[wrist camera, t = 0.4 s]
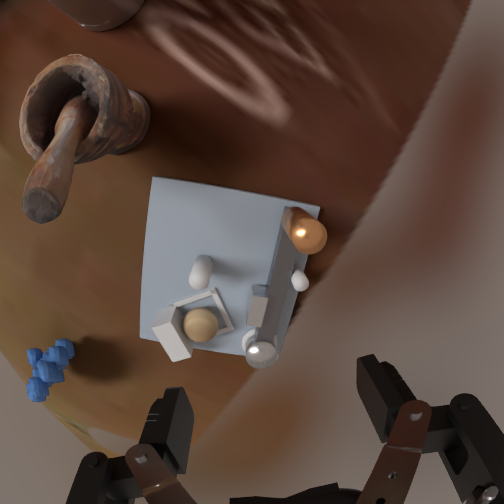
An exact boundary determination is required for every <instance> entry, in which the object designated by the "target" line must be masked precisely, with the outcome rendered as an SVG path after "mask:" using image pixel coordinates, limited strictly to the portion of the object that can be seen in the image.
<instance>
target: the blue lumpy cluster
mask: <svg viewBox="0 0 504 504" xmlns="http://www.w3.org/2000/svg"><path fill="white" fill-rule="evenodd" d="M27 356H28V362H29V363H30V364H31V366H33V370H34V371H32V372H33V377H32V378H29V384H27V393H28V396H29V398H30V399H31V400H32V401H33V402H42V401H46V396H49V389H48V387H51V385H52V384H53V383H59V382H63V381H64V374H63V369H66V365H68V364H69V359H72V358H73V356H75V354H74V346H73V343H72V341H71V340H69V339H59V340H56V344H55V346H52V347H49V350H46V353H43V352H42V350H41V349H38V348H34V349H28V350H27Z"/></svg>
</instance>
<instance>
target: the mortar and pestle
mask: <svg viewBox="0 0 504 504" xmlns="http://www.w3.org/2000/svg"><path fill="white" fill-rule="evenodd" d="M149 123H150V108H149V105H148V103H147V102H146V100H145V99H144V98H143V97H142V96H141V95H139V94H138V93H137V92H135V91H133V90H130V89H127V88H126V86H125V84H124V83H123V82H122V81H121V79H120V78H118V77H117V76H116V75H115V74H114V73H113V72H111V71H110V70H108V69H106V68H105V67H103V66H102V65H100V64H99V63H97V62H96V61H94V60H92V59H90V58H88V57H85V56H82V55H80V54H71V55H68V56H66V57H62V58H60V59H58V60H56V61H54V62H52V63H51V64H49V65H48V66H47V67H46V68H44V69H43V70H42V71H41V72H40V73H39V74H38V75H37V77H36V79H35V81H34V82H33V84H32V85H31V86H30V87H29V89H28V91H27V94H26V97H25V99H24V102H23V104H22V107H21V112H20V122H19V126H20V132H21V139H22V142H23V145H24V146H25V148H26V150H27V152H28V154H30V155H31V156H32V158H33V159H34V160H36V161H37V163H36V164H35V166H34V167H33V169H32V171H31V172H30V174H29V176H28V179H27V181H26V183H25V187H24V190H23V201H22V207H23V212H24V213H25V215H26V216H27V217H28V218H29V219H31V220H32V221H35V222H37V223H40V224H42V223H47V222H49V221H52V220H54V219H55V218H57V217H58V216H59V215H60V214H61V212H62V210H63V207H64V205H65V202H66V200H67V196H68V193H69V190H70V185H71V181H72V174H73V168H74V165H75V164H80V163H85V162H90V161H93V160H96V159H98V158H100V157H102V156H104V155H106V154H120V153H123V152H126V151H128V150H130V149H132V148H134V147H135V146H137V145H138V144H139V143H140V142H141V141H142V140H143V139H144V137H145V135H146V133H147V131H148V128H149Z"/></svg>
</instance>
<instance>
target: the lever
mask: <svg viewBox="0 0 504 504" xmlns="http://www.w3.org/2000/svg"><path fill="white" fill-rule="evenodd" d="M326 241H327V231H326V229H325V227H324V226H323V225H322V224H321V223H320V222H319V221H318V220H316V219H315V218H314V217H313V216H312V215H310V214H309V213H308V212H307V211H305V210H304V209H303V208H301V207H297V206H294V207H289V206H284V211H283V215H282V217H281V224H280V228H279V233H278V237H277V241H276V246H275V250H274V254H273V259H272V263H271V267H270V271H269V276H268V280H267V284H266V287H264V286H258V285H251V289H250V294H249V298H248V303H247V307H246V312H245V315H246V325H247V326H254V327H256V329H255V334H254V335H252V336H250V337H249V338H248V339H247V341H246V343H245V351H246V360H247V362H248V364H249V365H250V366H252V367H254V368H267V367H269V366H271V365H272V364H273V363H274V362H275V361H276V359H277V352H276V347H275V343H274V337H275V334H276V330H277V327H278V323H279V320H280V316H281V312H282V309H283V305H284V302H285V298H286V294H287V290H288V287H289V283H290V279H291V275H292V272H293V268H294V264H295V260H296V256H297V252H298V251H300V252H301V253H304V254H314V253H317V252H319V251H320V250H321V249H322V248H323V247H324V245H325V244H326Z"/></svg>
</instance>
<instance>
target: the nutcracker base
mask: <svg viewBox="0 0 504 504" xmlns="http://www.w3.org/2000/svg"><path fill="white" fill-rule="evenodd" d="M284 206H289V207H294V206H297V207H301V208H303V209H304V210H305V211H307V212H308V213H309V214H310V215H312V216H313V217H314V218H315V219H316V220H317V218H318V214H319V210H320V207H319V206H317V205H312V204H308V203H303V202H299V201H294V200H289V199H284V198H280V197H275V196H270V195H265V194H260V193H254V192H249V191H244V190H238V189H233V188H227V187H222V186H216V185H210V184H204V183H198V182H192V181H186V180H180V179H173V178H166V177H159V176H154V177H153V179H152V186H151V193H150V200H149V208H148V217H147V226H146V235H145V246H144V258H143V271H142V287H141V310H140V338H144V339H149V340H154V341H159V342H160V343H161V344H162V346H163V347H164V349H165V351H166V352H167V354H168V355H169V357H170V358H171V360H172V362H175V361H179V360H182V359H186V358H189V357H191V356H192V350H193V348H197V349H203V350H209V351H216V352H222V353H229V354H237V355H244V356H246V351H245V343H246V341H247V339H248V338H249V337H250V336H252V335H254V334H255V329H256V327H254V326H247V325H246V315H245V312H246V307H247V303H248V298H249V294H250V289H251V285H258V286H264V287H266V284H267V280H268V276H269V271H270V267H271V263H272V259H273V254H274V250H275V246H276V241H277V237H278V233H279V228H280V224H281V217H282V215H283V211H284ZM307 257H308V254H304V253H301V252H300V251H298V252H297V256H296V260H295V264H294V268H293V272H292V275H291V279H290V283H289V287H288V290H287V294H286V298H285V302H284V305H283V309H282V312H281V316H280V320H279V323H278V327H277V330H276V334H275V337H274V343H275V347H276V352H277V359H278V357H279V354H280V351H281V348H282V344H283V341H284V338H285V335H286V331H287V328H288V325H289V321H290V318H291V315H292V311H293V308H294V304H295V301H296V297H297V294H298V291H304V290H306V289H307V288H308V286H309V281H308V279H307V277H306V276H305V274H304V269H305V265H306V261H307ZM197 307H204V308H207V309H209V310H211V311H212V312H213V313H214V314H215V315H216V317H217V319H218V331H217V333H216V335H215V336H214V337H213V338H212V339H211V340H209V341H206V342H196V341H193V340H192V339H190V338H189V337H188V336H187V335H186V333H185V331H184V328H183V321H184V318H185V316H186V314H187V313H188V312H189V311H190V310H192V309H194V308H197Z"/></svg>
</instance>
